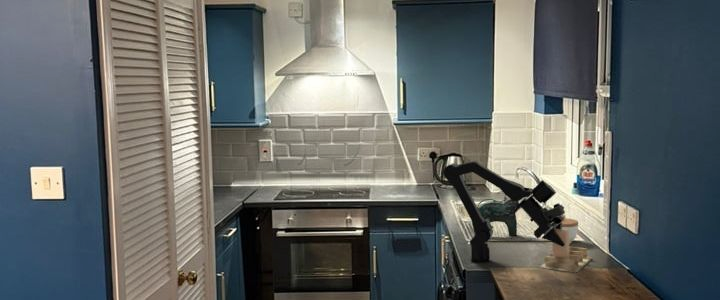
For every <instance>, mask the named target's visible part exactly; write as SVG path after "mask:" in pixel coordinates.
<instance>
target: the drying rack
mask: <svg viewBox="0 0 720 300" xmlns="http://www.w3.org/2000/svg"><path fill="white" fill-rule="evenodd" d="M569 252H570V259H567V258H558V257H553V251H552V252H550V253H549V255H547V256H544V263H542V264H541V265H540V266H539V268H540V269H545V270H546V269H547V270H554V271H560V272H570V273H576V272H577V273H578V272H579V271H580V270H581V269H582V268H584V267H585V266H586V265H587V264H588V263H589V262H590V261H591V260H592V258H593V257H591V256H588V248H587V247H585V248H584V247H578V246H570V245H569Z"/></svg>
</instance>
